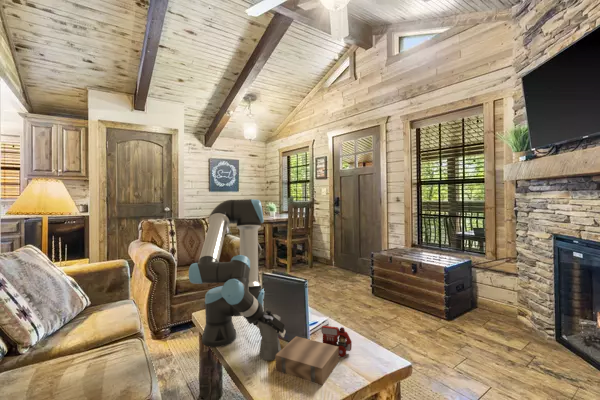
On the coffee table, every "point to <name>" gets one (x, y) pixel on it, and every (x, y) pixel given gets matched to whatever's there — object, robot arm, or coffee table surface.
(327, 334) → the toy fire truck
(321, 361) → the brown wooden block
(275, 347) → the coffeepot
